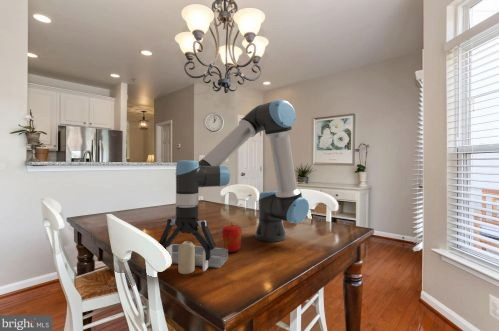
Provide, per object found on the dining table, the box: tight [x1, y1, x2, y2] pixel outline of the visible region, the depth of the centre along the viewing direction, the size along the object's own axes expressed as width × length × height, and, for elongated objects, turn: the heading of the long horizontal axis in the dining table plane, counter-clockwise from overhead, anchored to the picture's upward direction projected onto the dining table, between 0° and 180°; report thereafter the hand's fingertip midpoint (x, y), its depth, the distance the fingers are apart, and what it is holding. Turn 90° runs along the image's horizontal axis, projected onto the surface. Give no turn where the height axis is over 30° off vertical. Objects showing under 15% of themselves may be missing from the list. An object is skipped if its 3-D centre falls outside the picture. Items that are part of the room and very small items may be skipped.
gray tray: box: [171, 243, 229, 269], centre depth 98 cm, size 24×10×4 cm, turn 77°
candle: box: [177, 240, 196, 275], centre depth 88 cm, size 6×6×10 cm
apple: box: [221, 223, 243, 253], centre depth 108 cm, size 9×8×12 cm
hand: (186, 267), depth 87 cm, fingers open, 13 cm apart
